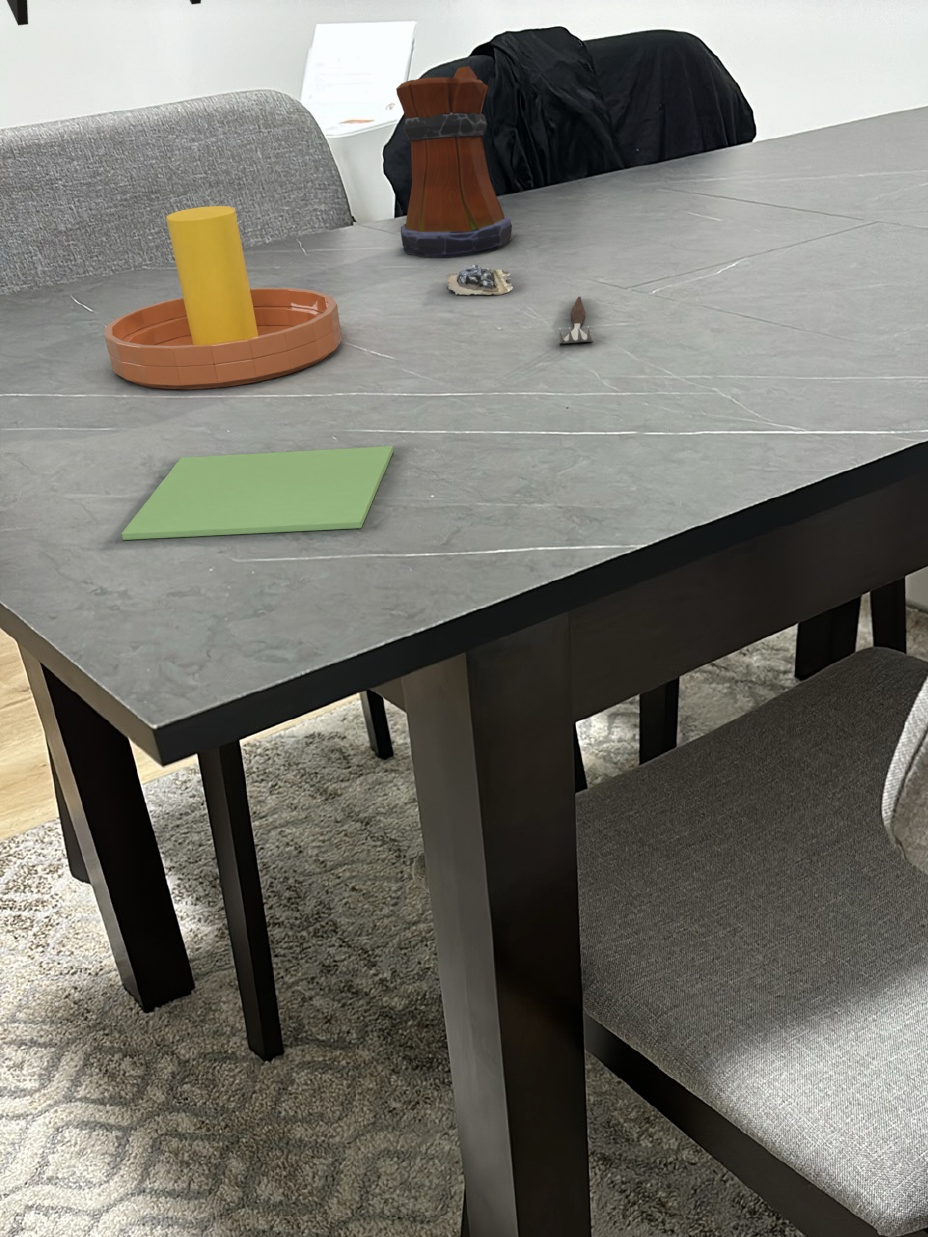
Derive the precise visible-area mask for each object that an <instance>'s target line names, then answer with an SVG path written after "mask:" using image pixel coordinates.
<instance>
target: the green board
mask: <svg viewBox="0 0 928 1237" xmlns="http://www.w3.org/2000/svg"><path fill="white" fill-rule="evenodd" d="M393 453H394V448H393V446H392V445H386V446H367V447H350V448H335V449H334V448H331V449H314V450H295V451H294V450H293V451H278V452H259V453H257V452H256V453H242V454H241V453H240V454H224V455H206V456H205V455H204V456H187V457H186V456H185V457H180V458H179V460H177V462H176V463H175V465H174V466H173V467H172V468H171V469H170V471H169V472H168V473H167V475H166V476H165V478H163V480H162V481H161V482H160V484H159V485H158V486H157V487H156V488H155V490H154V491H153V492H152V494H151V495H150V496H149V498H148V499H147V500H146V501H145V503H143V505H142V506H141V507H140V509H139V511H137V513H136V514H135V515H134V517H133V518H132V519H131V521H130V522H129V523H128V525H126V527H125V528H124V530H123V531H122V532H121V538H122V540H123V541H131V540H151V539H153V540H154V539H170V538H190V537H192V538H193V537H210V536H213V537H214V536H228V535H251V534H252V535H253V534H271V533H273V534H274V533H292V532H311V531H312V532H314V531H329V530H331V531H332V530H353V529H354V530H355V529H362V527H363V524H364V522H365V520H366V518H367V516H368V513H369V510H370V507H371V505H372V503H373V502H374V499H375V497H376V494H377V492H378V490H379V486H380V484H381V482H382V480H383V478H384V475H385V472H386V470H387V467H388V465H389V463H390V460H391V458H392V455H393Z"/></svg>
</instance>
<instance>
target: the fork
mask: <svg viewBox="0 0 928 1237" xmlns="http://www.w3.org/2000/svg"><path fill="white" fill-rule="evenodd" d="M570 317H571V322H572V324H573V327H574V328H573V329H572V330H571V327H570V326H569V327H568V334H567V335H566V336H564V335H563V332H562V328H561V327H559V328H558V331H559V335H558V336H559V337H558V338H559V341H558V342H559V344H560V345H561V344H562V345H563V344H576V343H578V344H579V343H592V342H594V339H593V338H592V334H591V329H590V325H588V326H587V332H586V333H585V332H584V331H583V330H582V329H581V325H582V324H583V322H584V320H585V317H586V309H585V307H584V305H583V301H582V297H581V296H577V298H576V300H575V302H574V305H573V307H572V309H571V312H570Z"/></svg>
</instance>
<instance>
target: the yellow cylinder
mask: <svg viewBox="0 0 928 1237" xmlns="http://www.w3.org/2000/svg"><path fill="white" fill-rule="evenodd" d="M166 223H167V227H168V233H169V237H170V242H171V246H172V247H171V248H172V252H173V256H174V262H175V266H176V270H177V275H178V280H179V284H180V289H181V293H182V297H183V299H184V304H185V308H186V313H187V318H188V322H189V327H190V332H191V336H192V341H193V345H199V344H213V343H220V342H227V341H234V340H241V339H248V338H252V337H257V336H258V331H257V326H256V320H255V315H254V310H253V304H252V299H251V293H250V283H249V277H248V272H247V266H246V262H245V255H244V251H243V245H242V239H241V234H240V228H239V224H238V217H237V212H236V208H234V207H232V206H226V205H211V206H201V207H200V206H199V207H192V208H187V209H182V210H178V211H174V212H172V213H169V214H168V215H167V216H166Z"/></svg>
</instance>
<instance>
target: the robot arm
mask: <svg viewBox="0 0 928 1237" xmlns="http://www.w3.org/2000/svg"><path fill="white" fill-rule="evenodd" d="M6 2H7V4H8V6H9V9H10V11H11V13H12V15H13V17H14V20H15V22H16V24H17V26H27V25H29V10H28V9H29V8H28V6H29V5H28V0H6ZM189 2H190V4H191V5H200V4H202V0H189Z"/></svg>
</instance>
